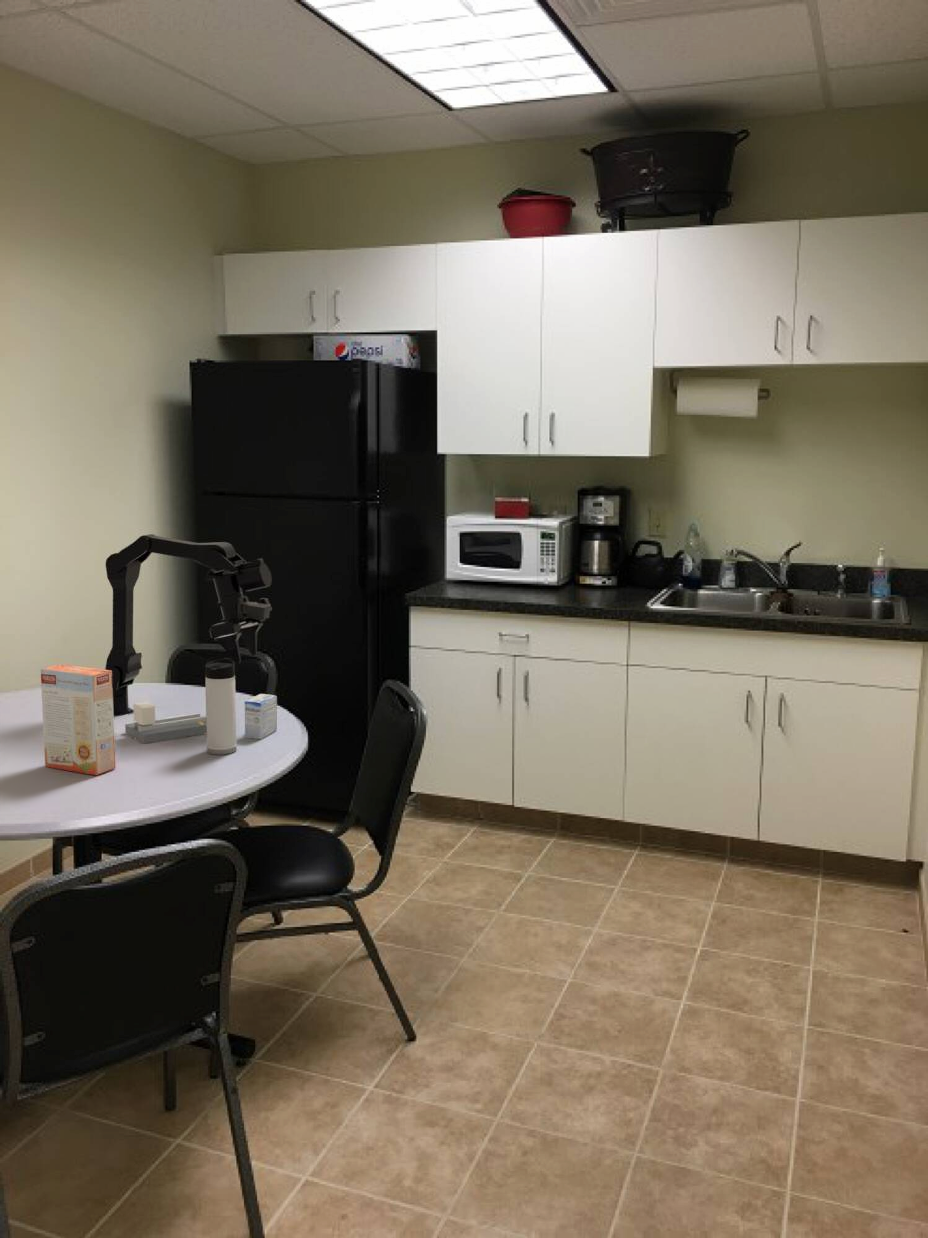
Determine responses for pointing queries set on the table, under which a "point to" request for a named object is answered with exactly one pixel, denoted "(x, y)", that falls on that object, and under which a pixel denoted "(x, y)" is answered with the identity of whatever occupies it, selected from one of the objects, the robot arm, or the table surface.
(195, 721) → the console
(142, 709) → the fader
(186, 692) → the table surface
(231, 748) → the travel mug
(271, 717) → the medicine box
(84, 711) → the cracker box
